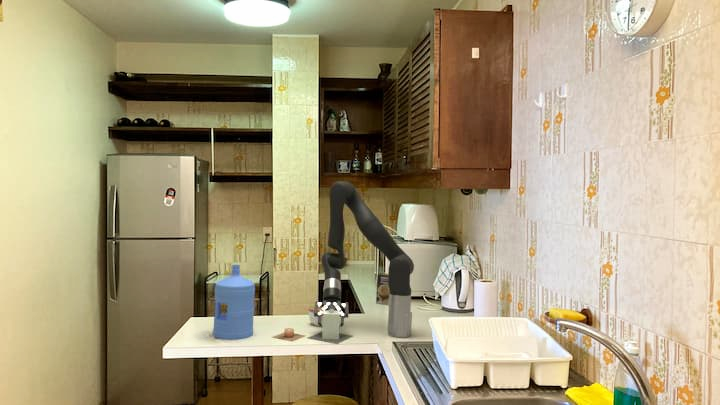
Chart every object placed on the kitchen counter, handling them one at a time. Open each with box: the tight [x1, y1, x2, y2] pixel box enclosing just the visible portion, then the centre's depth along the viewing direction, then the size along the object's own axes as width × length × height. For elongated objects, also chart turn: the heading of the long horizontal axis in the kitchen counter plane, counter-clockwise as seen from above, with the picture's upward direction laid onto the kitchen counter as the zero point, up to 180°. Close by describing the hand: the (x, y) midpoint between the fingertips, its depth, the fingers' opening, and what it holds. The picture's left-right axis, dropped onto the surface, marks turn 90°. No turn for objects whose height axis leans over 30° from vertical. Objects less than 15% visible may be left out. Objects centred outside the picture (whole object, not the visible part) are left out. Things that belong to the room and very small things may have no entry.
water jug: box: [212, 264, 256, 340], centre depth 198 cm, size 16×16×28 cm
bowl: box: [283, 327, 295, 337], centre depth 197 cm, size 4×4×3 cm
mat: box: [306, 331, 354, 345], centre depth 199 cm, size 14×14×1 cm
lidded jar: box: [308, 305, 323, 327], centre depth 219 cm, size 11×11×9 cm
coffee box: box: [375, 272, 389, 306], centre depth 272 cm, size 9×6×16 cm
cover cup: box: [321, 309, 341, 340], centre depth 199 cm, size 7×7×11 cm
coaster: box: [271, 332, 306, 342], centre depth 197 cm, size 10×10×1 cm
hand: (330, 325), depth 198 cm, fingers open, 8 cm apart
